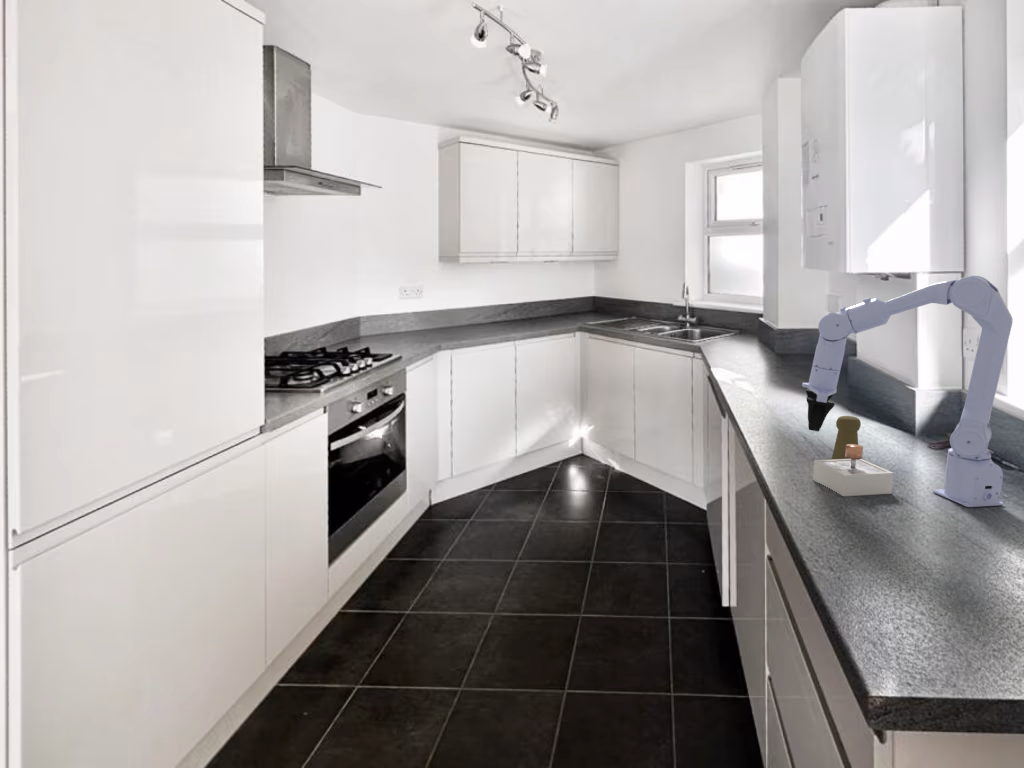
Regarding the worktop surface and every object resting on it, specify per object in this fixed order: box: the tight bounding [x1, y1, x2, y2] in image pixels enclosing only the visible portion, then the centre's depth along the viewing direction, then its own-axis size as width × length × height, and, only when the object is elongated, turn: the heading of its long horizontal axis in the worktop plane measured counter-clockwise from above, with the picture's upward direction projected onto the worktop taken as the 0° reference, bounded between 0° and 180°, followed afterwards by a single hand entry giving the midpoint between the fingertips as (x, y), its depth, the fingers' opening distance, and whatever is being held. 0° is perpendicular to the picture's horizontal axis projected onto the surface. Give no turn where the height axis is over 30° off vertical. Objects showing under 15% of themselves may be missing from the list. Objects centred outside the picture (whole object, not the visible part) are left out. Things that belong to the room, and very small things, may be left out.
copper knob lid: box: [822, 444, 885, 474], centre depth 147 cm, size 9×9×5 cm
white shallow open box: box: [812, 458, 894, 497], centre depth 149 cm, size 13×11×4 cm
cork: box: [830, 415, 861, 460], centre depth 165 cm, size 6×6×11 cm
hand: (813, 425), depth 157 cm, fingers open, 7 cm apart
